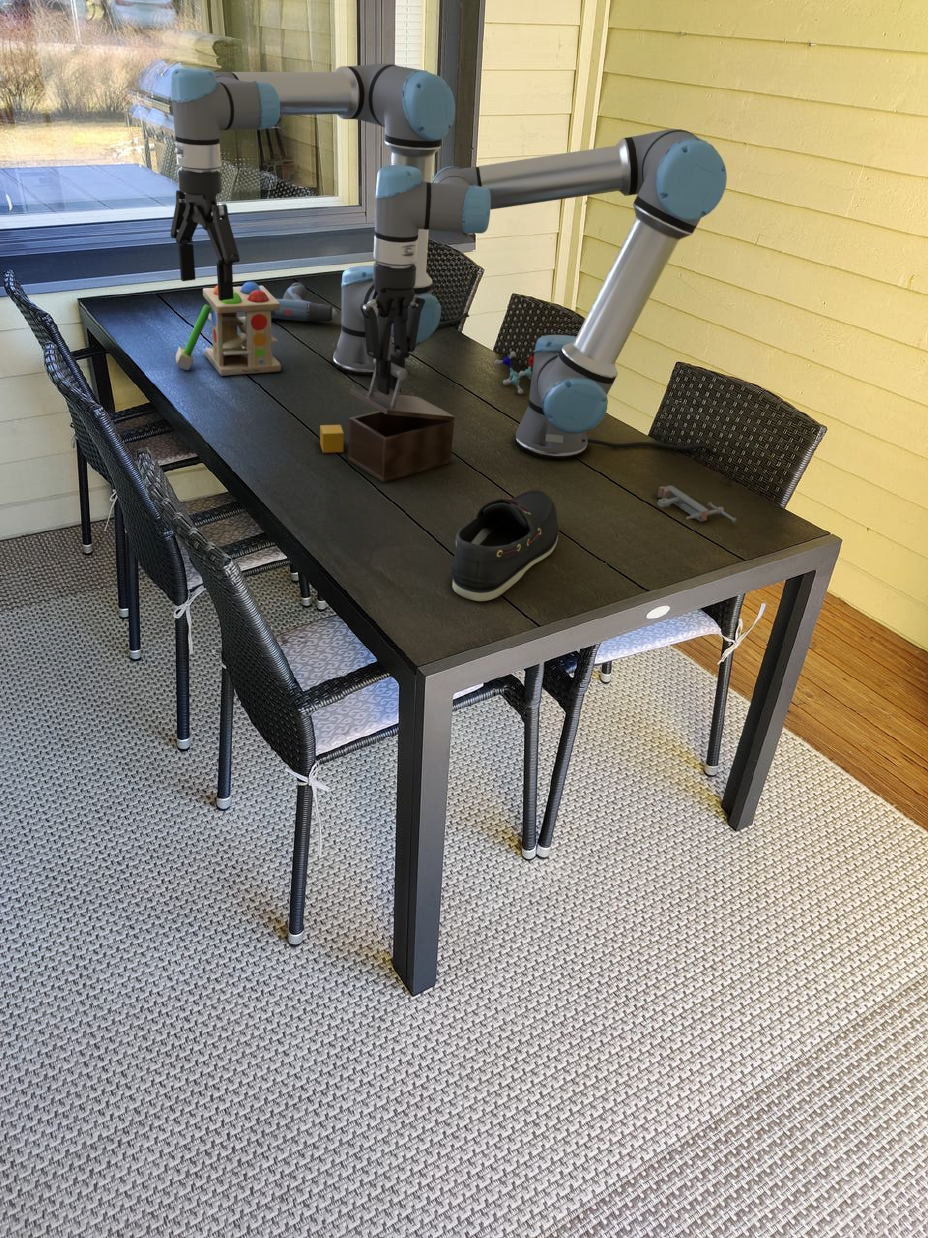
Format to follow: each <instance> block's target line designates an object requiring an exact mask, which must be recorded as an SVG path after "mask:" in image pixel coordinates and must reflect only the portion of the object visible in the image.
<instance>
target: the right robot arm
mask: <svg viewBox="0 0 928 1238" xmlns="http://www.w3.org/2000/svg"><path fill="white" fill-rule="evenodd" d="M727 175H728V174H727V169H726V165H725V162H724V160H723V157H722V156H721V154H720V153H719V151H718V150H717V149H716V148H715V147H714V146H713V144H711V143H709V142H708V141H707V140H705V139H701V138H700V137H698V136H697V135H696V134H694V133H692V132H690V131H688V130H685V129H681V128H670V129H664V130H658V131H654V132H649V133H643V134H639V135H634V136H633V135H632V136H627V137H622V138H620V139H619V140H618V142H617V143H616V144H615V145H610V146H603V147H596V148H590V149H583V150H577V151H571V152H562V153H556V154H552V155H544V156H543V155H542V156H537V157H531V158H524V159H517V160H511V161H505V162H497V163H491V164H483V165H478V166H471V167H464V168H461V167H458V166H454V165H453V166H446V167H442V169H440V170H438V171H437V173H435V176H434V177H433V178H432V182H431V183H430V182H425V181H422V173H421V171H420V170H419V169H417V168H415V167H411V166H405V165H391V164H387V165H383V166H381V167H380V168H379V169H378V171H377V175H376V187H375V188H376V189H375V207H374V208H375V211H374V239H373V241H374V242H373V259H374V260H375V262H373V265H374V267H373V283H374V286H375V291H374V293H373V296H372V300H371V301H370V302H369V303H367V304H364V303H362V304H361V306H360V309H361V311H362V314H363V316H364V325H365V337H366V349H367V354H368V355H369V356H371V357H373V358H375V359H376V375H377V376H378V378H377V392H381V393H383V394H385V395H389V394H391V393H390V392H391V390H392V391H393V392H394V391H395V387H396V383H397V380H398V378H397V377H395V376H393V375H391V373H390V370H391V362H392V363H394V364H396V365H398V366H400V367H402V368H404V369H406V359H409V358H410V355H411V354H410V353H413V352H415V350H416V346H417V344H416V339H417V333H418V327H419V321H420V315H421V311H422V309H423V306H424V304H425V299H423V298H421V297H419V296H416V295H415V293H414V290H413V287H414V286H415V282H416V266H415V265H414V263H415V262H416V261H417V246H418V231H419V229H424V230H429V231H437V232H448V233H449V232H450V233H460V234H465V235H469V234H485V233H486V232H487V230H488V228H489V224H490V218H491V210H497V209H503V208H510V207H518V206H525V205H532V204H537V203H545V202H553V201H559V200H567V199H573V198H580V197H586V196H594V195H600V194H606V193H614V192H615V193H616V192H619V193H621V194H622V195H623V196H624V197H627V196H628V197H629V196H635V195H636V197H635V199H634V201H633V203H632V206H633V210H634V214H635V219H634V220H633V222H632V225H631V227H630V229H629V230H628V233H627V235H626V236H625V238H624V240H623V243H622V244H621V247H620V248H619V250H618V253H617V255H616V256H615V259H614V260H613V263H612V265H611V267H610V269H609V271H608V273H607V275H606V277H605V279H604V280H603V283H602V285H601V286H600V288H599V290H598V293H597V295H596V297H595V299H594V301H593V303H592V304H591V306H590V309H589V311H588V313H587V315H586V317H585V319H584V321H583V323H582V325H581V327H580V329H579V331H578V333H577V335H576V336H574V335H567V334H547V335H542V336H540V337H539V338H538V339H537V341H536V342H535V347H534V348H535V349H534V350H533V354H534V355H533V357H534V363H533V364H532V370H531V372H532V374H531V375H532V379H531V381H530V386H529V387H530V388H529V396H528V403H527V408H526V410H525V412H524V414H523V417H522V418H521V420H520V423H519V425H518V427H517V429H516V432H515V438H514V443H515V446H516V447H517V448H518V449H519V450H521V451H522V452H523V453H526V454H528V455H530V456H533V457H536V458H539V459H544V460H550V461H551V460H552V461H568V460H573V459H577V458H580V457H582V456H583V455H585V454H586V452H587V448H588V444H594V445H595V444H596V445H599V446H600V445H601V446H605V447H609V448H634V447H654V448H662V449H663V448H664V449H670V450H677V451H691V450H698V449H704V450H707V452H709V453H712V454H714V453H715V450H714V449H713V448H712V447H711V448H705V445H706V444H705V443H701V444H700V443H699V444H693V445H692V444H691V445H675V444H669V443H661V442H654V441H637V442H636V441H635V442H634V441H633V442H625V443H624V442H623V443H622V442H621V443H620V442H619V443H615V442H609V441H606V440H605V441H604V440H599V439H593V438H588V434H587V432H589V431H591V430H593V429H594V428H596V427H597V426H599V424H601V422H602V421H603V420H604V418H605V416H606V414H607V411H608V405H609V400H608V394H609V393H610V390H611V389H612V386H613V384H614V382H615V381H616V379H617V377H618V375H619V373H618V369H617V366H616V361H617V359H618V357H619V356H620V354H621V352H622V350H623V349H624V347H625V344H626V342H627V341H628V339H629V337H630V335H631V333H632V331H633V329H634V328H635V325H636V324H637V322H638V320H639V318H640V316H641V315H642V312H643V310H644V308H645V306H646V304H647V303H648V301H649V299H650V297H651V295H652V293H653V291H654V290H655V287H656V286H657V283H658V282H659V279H660V278H661V276H662V275H663V272H664V271H665V269H666V267H667V265H668V263H669V261H670V259H671V257H672V255H673V253H674V252H675V249H676V247H677V245H678V244H679V242H680V241H681V240H683V239H685V238H687V237H691V236H692V235H693V234H694V232H695V231H696V228H697V227H698V225H699V223H700V222H701V219H702V218H704V217H705V216H708V215H709V214H710V213H711V212H713V211H714V210H715V209H716V208H717V206H718V205H719V203H720V202H721V200H722V198H723V197H724V194H725V191H726V187H727V179H728V178H727V177H728V176H727ZM376 307H377V309H378V314H377V311H376ZM376 314H377V316H376ZM377 318H378V321H377ZM392 324H393V332H394V337H393V347H394V352H395V354H396V355H395V354H391V356H390V360H389V359H387V358H388V351H389V343H390V335H391V327H392ZM401 392H402V387H401V388H400V392H399V393H401Z"/></svg>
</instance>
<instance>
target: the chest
mask: <svg viewBox="0 0 928 1238" xmlns="http://www.w3.org/2000/svg"><path fill="white" fill-rule="evenodd" d="M454 426H455V420H454V421H449V420H438V419H428V418H418V417H407V416H397V415H386V414H385V413H383V412H381V411H379V410H375V411H371V412H367V413H364V414H358V415H355V416H350V417H349V418H348V446H347V447H348V449H347V454H348V455H347V456H348V457H347V460H348V461H350V462H351V463H352V464H354V465H355V466H357V467H359V468H360V469H362V470H363V471H365V472H367V474H370V475H371V476H373V478H376V479H377V480H379V481H380V482H382V483H387V482H390V481H393V480H396V479H400V478H403V477H407V476H411V475H414V474H417V473H420V472H423V471H427V470H430V469H431V470H432V469H434V468H437V467H440V466H444V465H448V464H450V463H451V462H452V460H451V459H452V451H453V439H454V428H455V427H454Z"/></svg>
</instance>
